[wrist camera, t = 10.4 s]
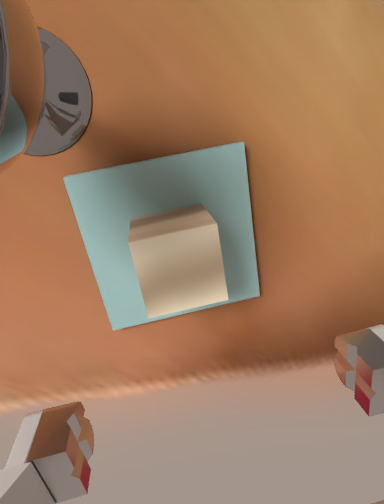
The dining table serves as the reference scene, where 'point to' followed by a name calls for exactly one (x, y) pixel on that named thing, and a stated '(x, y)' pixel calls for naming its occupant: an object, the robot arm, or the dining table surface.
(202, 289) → the cube
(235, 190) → the pad
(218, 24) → the dining table surface
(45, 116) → the wine glass
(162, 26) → the dining table surface
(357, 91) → the dining table surface
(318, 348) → the dining table surface
